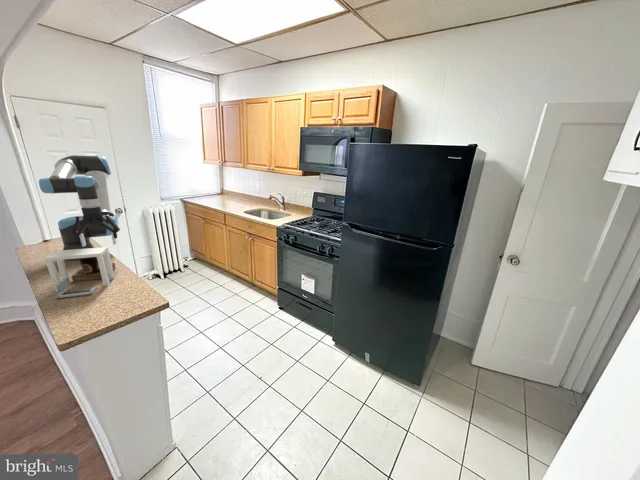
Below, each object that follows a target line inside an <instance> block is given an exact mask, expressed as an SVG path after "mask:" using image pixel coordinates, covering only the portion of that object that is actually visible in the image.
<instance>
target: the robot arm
mask: <svg viewBox="0 0 640 480" xmlns="http://www.w3.org/2000/svg"><path fill="white" fill-rule="evenodd" d="M111 172H112V171H111V168H110V165H109V163H108V160H107V158H106V157H105V156H104V155H103V156H101V155H77V154H76V155H68V156H65V157H63V158H60V159H59V160H57V161H56V163H54V170H53V171H52V173H51V174H50V177H45V178H39V179H38V186H39V188H40V190H41V192H42V193H44V194H71V193H73V194H74V193H77V195H78V201H79V204H80V207H81V212H82V215H76V216H75V215H74V216H70V217H66V218H62V219H60V220H59V221H58V223H57V226H58V230H59V233H60V234H59V235H60V237H61V241H62V244H63V248H62V250H73V249H87V248H96V247H95V246H94V245H93V243H92V242H91V240H90V238H98V237H101V238H102V237H109V236H111V240H112V244H113V245H116V244H118V243H117V238H118V232H120V230H121V228H120V227H119V219H118V216H116V215H115V213H113V212H111V206H110V199H109V190H108V184H107V183H108V182H107V180H108V178H109V176H111V175H112V173H111ZM77 175H78V176H77ZM73 176H74V177H73ZM69 260H70V261H73V260H75V261H76V260H79V259H78V258H77V259H64V261H69Z"/></svg>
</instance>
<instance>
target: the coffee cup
mask: <svg viewBox="0 0 640 480" xmlns="http://www.w3.org/2000/svg"><path fill="white" fill-rule="evenodd" d="M77 260H79V262H80V263H79V264H80V266H81V267H82V268H83V271H84V273H83V274H90V273H100V268H99V264H98V260H97V257H89V258H78V259H77Z"/></svg>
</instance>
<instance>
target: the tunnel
mask: <svg viewBox="0 0 640 480" xmlns="http://www.w3.org/2000/svg"><path fill="white" fill-rule="evenodd" d="M103 256H104V257H103ZM89 257H97V260H98V264H99V268H100V272H101V277H102V279H101V280H102V283H103V287H106V286H107V287H108V286H110V284H111V282H110V281H111V280H114V279H115V272H114V271H113V268H112V263H113V262H112V260H111V255H110V251H109V247H108V246H101V248H98V247H95V248H87V249H73V250H63V249H62V250H60V249H59V250H55V251H53V252H51V253H50V254H48V255H47V256H45V257H44V260H45V263H46V266H47V269H48V272H49V276H50V279H51V281H52V285H53V288H54V292H61V291H63V289H65V287H67V286H68V285H69V284H70V283H71V281H70V278H69V274H68V271H67V267H66V263H65V259H77V258H89ZM77 260H78V259H77ZM104 260H105V262H104ZM55 261H56V264H57V266H56V264H55ZM105 264H106V266H105ZM57 267H58V268H57ZM106 268H107V269H106ZM57 269H58V270H57ZM58 271H59V274H58ZM107 273H108V274H107ZM59 275H60V276H59ZM60 277H61V280H60Z"/></svg>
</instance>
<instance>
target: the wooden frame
mask: <svg viewBox="0 0 640 480" xmlns="http://www.w3.org/2000/svg"><path fill="white" fill-rule="evenodd" d="M101 247H102V246H101ZM101 247H100V246H99V247H97V248H101ZM103 257H104V256H103ZM104 262H105V260H104ZM111 263H112V268H113V272H114V271H115V269H116V264H115V262H111ZM105 266H106V264H105ZM106 270H107V268H106ZM107 274H108V273H107ZM71 278H72V282H74V283H75V282H82V281H90V280H99V279H101V280H102V277H101V272H100V273H90V274H85V273H84V271H83V268H82V266H81V267H80V268H79V269H78V270H76V271H75V272H74V273H73V274H71Z"/></svg>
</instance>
